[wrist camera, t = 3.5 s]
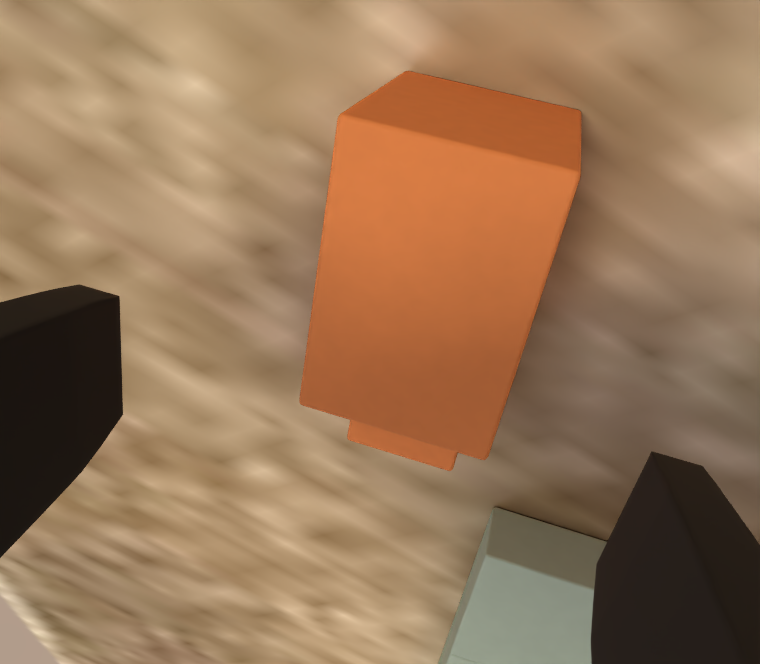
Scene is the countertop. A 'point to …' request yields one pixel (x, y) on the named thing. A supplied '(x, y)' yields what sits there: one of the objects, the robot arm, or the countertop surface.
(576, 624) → the grey tile
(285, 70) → the countertop surface
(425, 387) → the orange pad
